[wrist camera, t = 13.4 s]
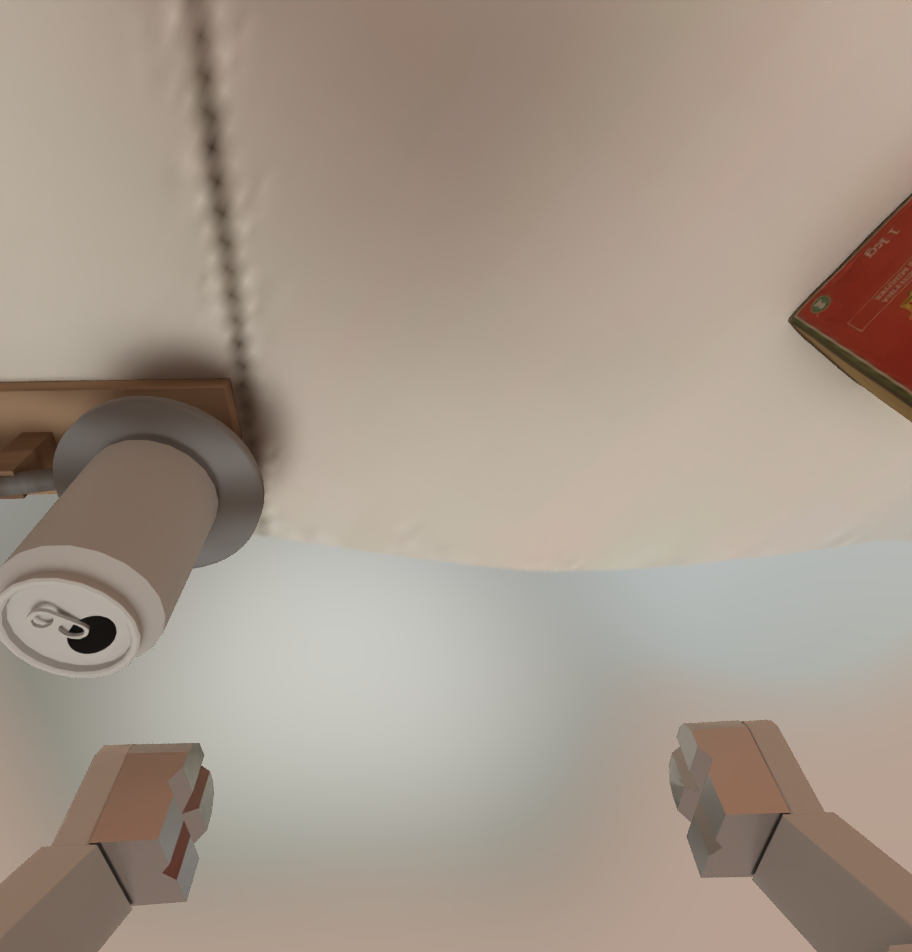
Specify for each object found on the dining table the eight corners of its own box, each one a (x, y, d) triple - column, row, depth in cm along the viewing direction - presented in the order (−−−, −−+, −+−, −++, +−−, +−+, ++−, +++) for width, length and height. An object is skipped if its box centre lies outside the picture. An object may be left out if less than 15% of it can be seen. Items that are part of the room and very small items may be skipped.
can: (177, 555, 42) (98, 712, 32) (67, 487, 39) (-59, 638, 28) (247, 485, 39) (185, 632, 29) (135, 407, 36) (22, 541, 26)
